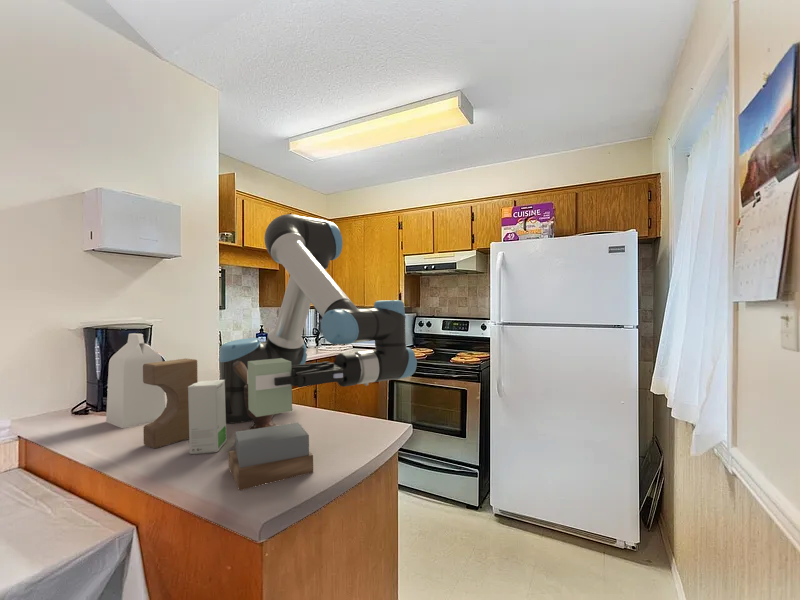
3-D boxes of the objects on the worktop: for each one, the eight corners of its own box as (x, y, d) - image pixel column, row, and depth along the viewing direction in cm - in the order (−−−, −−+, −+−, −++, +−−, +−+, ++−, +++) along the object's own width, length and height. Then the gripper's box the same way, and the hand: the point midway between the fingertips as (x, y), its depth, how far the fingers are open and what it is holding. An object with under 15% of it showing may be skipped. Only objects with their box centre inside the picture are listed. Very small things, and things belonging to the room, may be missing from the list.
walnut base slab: (228, 470, 83) (228, 451, 83) (295, 456, 90) (295, 438, 90) (239, 493, 73) (239, 471, 73) (313, 474, 80) (313, 454, 80)
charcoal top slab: (235, 451, 83) (235, 431, 83) (298, 440, 89) (297, 422, 89) (239, 467, 74) (239, 446, 74) (309, 454, 80) (308, 434, 80)
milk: (106, 421, 118) (105, 334, 119) (148, 412, 128) (147, 332, 128) (123, 428, 112) (122, 335, 112) (166, 418, 121) (165, 333, 121)
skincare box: (217, 453, 91) (216, 385, 92) (186, 455, 90) (185, 386, 90) (227, 440, 100) (226, 378, 100) (199, 442, 99) (198, 379, 99)
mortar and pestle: (255, 445, 96) (254, 362, 96) (227, 441, 99) (226, 361, 100) (285, 430, 107) (284, 356, 107) (260, 427, 110) (259, 355, 110)
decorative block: (153, 449, 94) (152, 365, 95) (142, 445, 98) (141, 363, 98) (199, 436, 103) (198, 359, 104) (188, 432, 107) (187, 358, 107)
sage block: (248, 409, 82) (247, 361, 83) (282, 404, 86) (281, 358, 86) (256, 416, 76) (255, 364, 77) (292, 411, 80) (291, 361, 80)
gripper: (376, 391, 83) (264, 409, 71) (338, 378, 100) (241, 390, 88) (375, 356, 84) (263, 367, 71) (337, 348, 100) (241, 356, 88)
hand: (251, 380), depth 80 cm, fingers closed on sage block, 7 cm apart
